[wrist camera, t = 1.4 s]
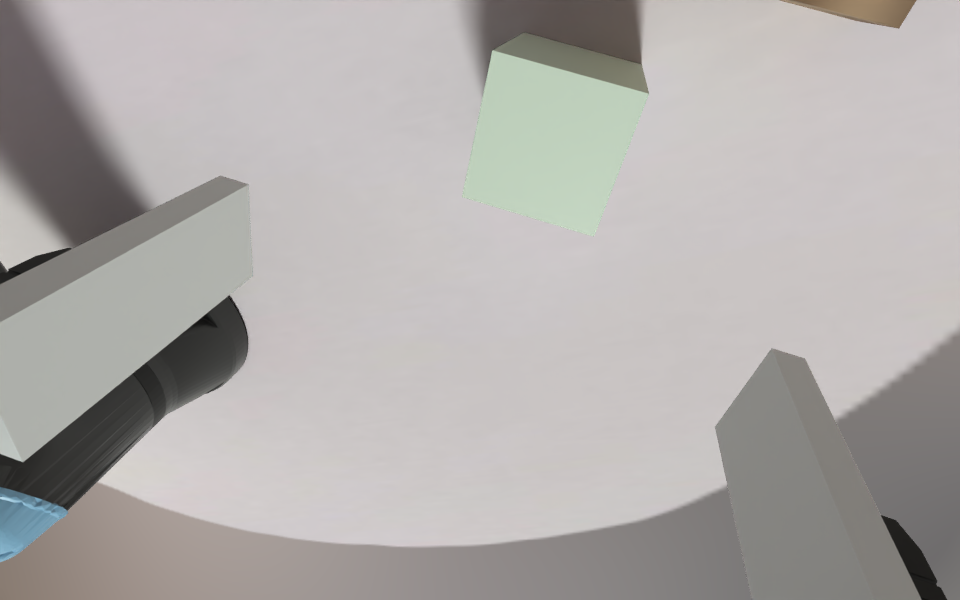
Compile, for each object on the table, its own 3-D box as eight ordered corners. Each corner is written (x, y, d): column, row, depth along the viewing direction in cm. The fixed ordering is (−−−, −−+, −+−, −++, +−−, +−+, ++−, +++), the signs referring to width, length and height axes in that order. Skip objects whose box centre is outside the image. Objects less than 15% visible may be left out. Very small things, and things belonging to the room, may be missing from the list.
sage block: (496, 148, 34) (462, 196, 26) (524, 32, 30) (492, 50, 22) (599, 178, 33) (593, 236, 26) (641, 64, 29) (649, 93, 22)
